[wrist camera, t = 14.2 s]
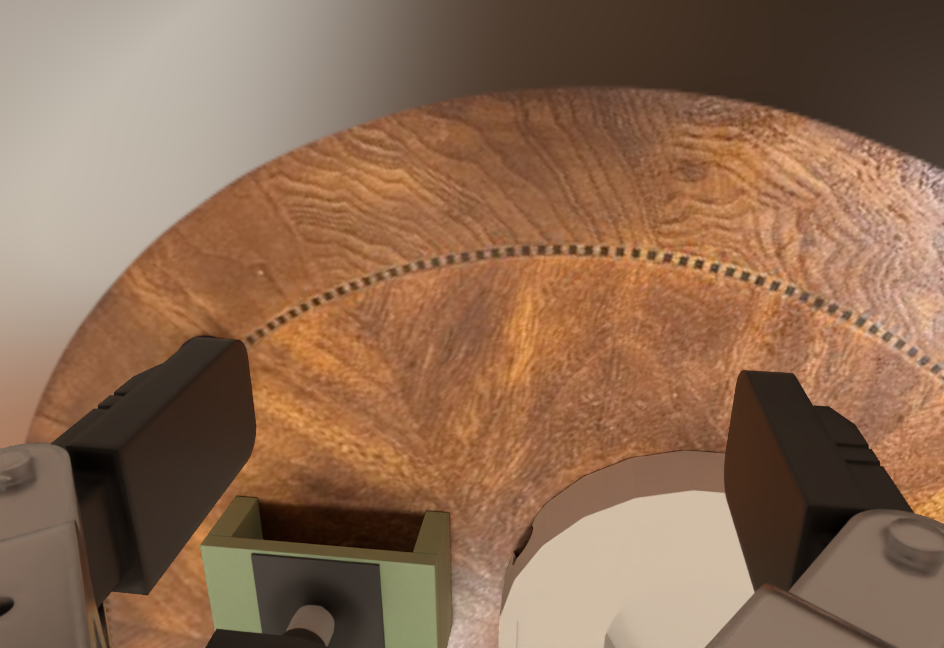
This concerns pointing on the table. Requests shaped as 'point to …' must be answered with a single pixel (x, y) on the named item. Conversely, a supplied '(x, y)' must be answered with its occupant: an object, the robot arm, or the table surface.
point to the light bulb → (312, 625)
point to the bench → (330, 583)
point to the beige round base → (629, 560)
